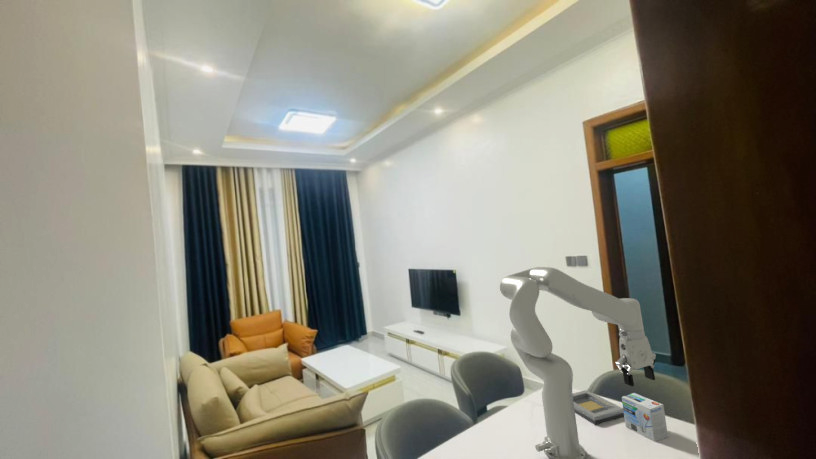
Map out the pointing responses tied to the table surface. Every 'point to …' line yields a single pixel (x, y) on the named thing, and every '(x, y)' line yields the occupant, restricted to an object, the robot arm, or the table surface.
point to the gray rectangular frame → (595, 408)
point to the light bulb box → (645, 416)
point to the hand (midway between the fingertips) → (639, 381)
